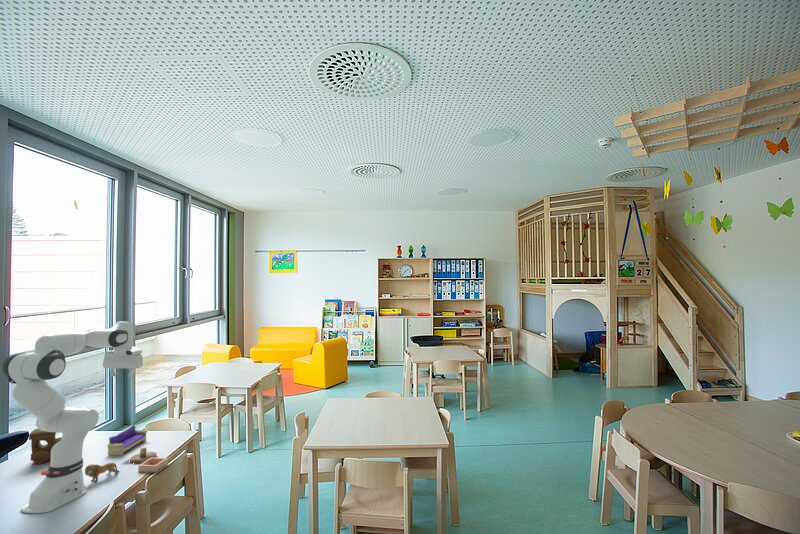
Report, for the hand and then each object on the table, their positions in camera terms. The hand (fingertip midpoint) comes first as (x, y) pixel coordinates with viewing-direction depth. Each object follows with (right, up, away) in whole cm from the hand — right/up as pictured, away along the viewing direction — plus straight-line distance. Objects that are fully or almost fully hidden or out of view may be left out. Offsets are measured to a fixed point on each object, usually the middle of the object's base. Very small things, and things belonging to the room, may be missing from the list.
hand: (122, 376), depth 209 cm
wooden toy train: (-39, -46, +2) cm, 60 cm away
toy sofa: (-8, -47, +15) cm, 50 cm away
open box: (+23, -46, -9) cm, 52 cm away
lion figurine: (+4, -46, -20) cm, 50 cm away
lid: (+10, -46, +2) cm, 47 cm away
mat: (+10, -46, +2) cm, 47 cm away
